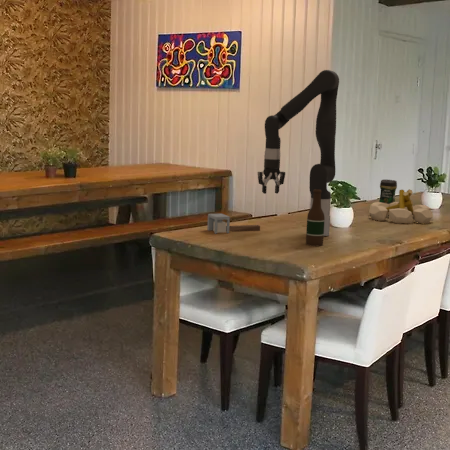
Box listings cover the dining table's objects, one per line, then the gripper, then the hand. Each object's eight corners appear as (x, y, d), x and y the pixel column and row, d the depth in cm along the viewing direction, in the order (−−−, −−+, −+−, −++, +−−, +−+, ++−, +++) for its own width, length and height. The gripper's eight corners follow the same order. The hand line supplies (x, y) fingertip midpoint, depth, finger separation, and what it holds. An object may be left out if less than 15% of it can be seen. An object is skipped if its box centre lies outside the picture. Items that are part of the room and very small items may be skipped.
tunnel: (229, 233, 315) (229, 216, 313) (215, 233, 312) (215, 217, 310) (221, 229, 323) (221, 213, 322) (207, 230, 321) (207, 213, 319)
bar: (259, 231, 325) (260, 225, 324) (226, 232, 318) (226, 226, 318) (257, 230, 327) (257, 224, 326) (224, 231, 321) (224, 225, 320)
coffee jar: (376, 210, 403) (378, 179, 399) (380, 209, 409) (382, 178, 406) (392, 212, 398) (394, 180, 395) (396, 210, 405) (398, 179, 401)
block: (225, 232, 317) (226, 222, 316) (216, 232, 315) (217, 223, 314) (222, 230, 321) (222, 221, 320) (213, 231, 319) (213, 221, 318)
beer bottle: (302, 242, 298) (305, 188, 294) (317, 242, 301) (321, 188, 297) (310, 246, 291) (313, 190, 287) (326, 245, 294) (330, 190, 290)
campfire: (435, 226, 355) (438, 194, 352) (369, 222, 361) (372, 190, 358) (427, 216, 390) (429, 186, 387) (366, 212, 395) (368, 183, 392)
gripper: (262, 158, 316) (260, 194, 319) (289, 158, 322) (287, 194, 325) (255, 157, 323) (253, 192, 326) (282, 157, 328) (280, 192, 331)
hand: (270, 193), depth 325 cm, fingers open, 5 cm apart
